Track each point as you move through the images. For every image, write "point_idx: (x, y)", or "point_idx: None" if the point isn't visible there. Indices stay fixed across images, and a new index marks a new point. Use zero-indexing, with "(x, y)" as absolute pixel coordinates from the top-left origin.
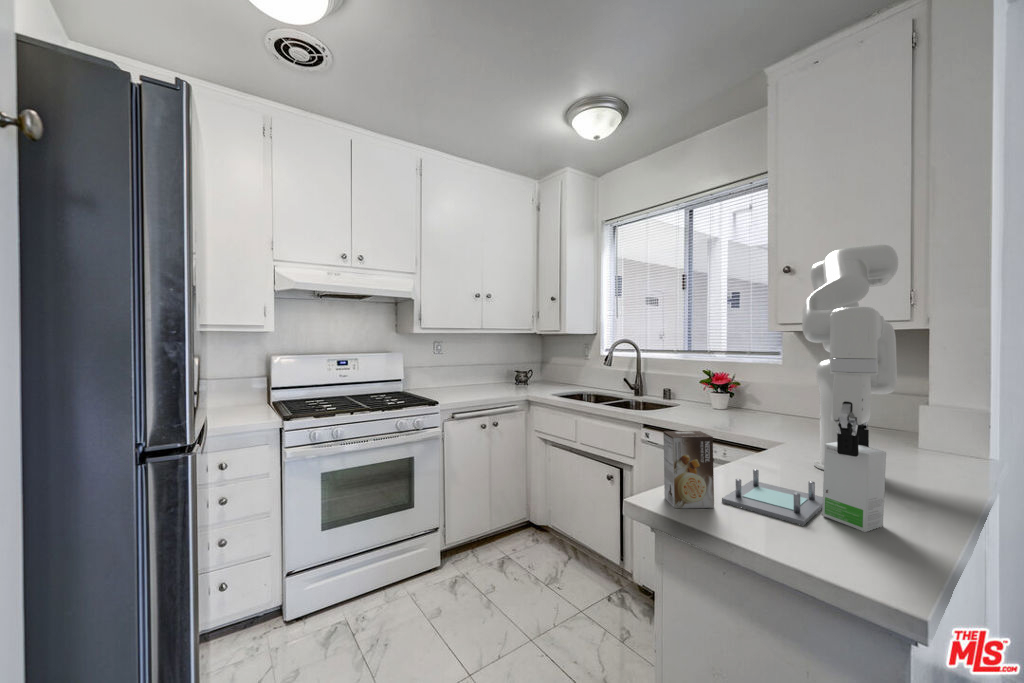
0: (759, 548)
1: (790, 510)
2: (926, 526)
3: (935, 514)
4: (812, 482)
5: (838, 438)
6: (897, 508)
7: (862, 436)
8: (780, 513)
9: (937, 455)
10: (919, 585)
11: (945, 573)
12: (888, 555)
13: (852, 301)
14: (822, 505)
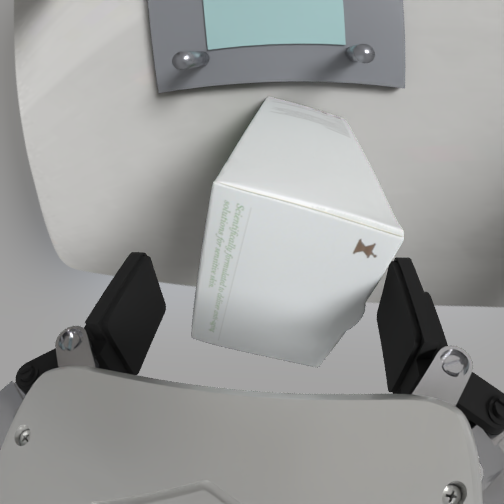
0: (26, 103)
1: (202, 42)
2: None
3: (461, 269)
4: (361, 56)
5: (100, 305)
6: (462, 219)
7: (390, 350)
8: (159, 39)
9: None
10: (115, 263)
11: (178, 283)
12: (168, 229)
13: None
14: (264, 101)
